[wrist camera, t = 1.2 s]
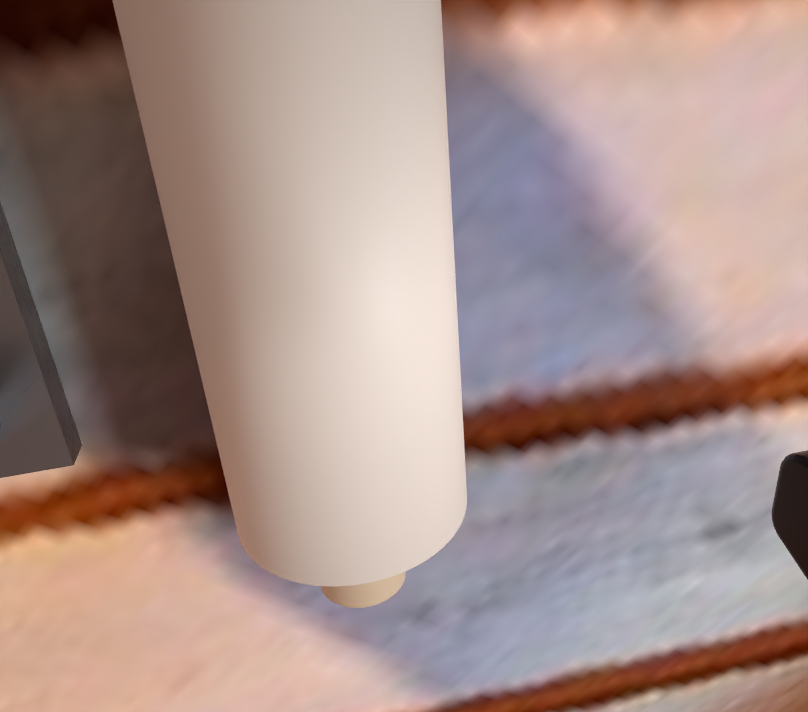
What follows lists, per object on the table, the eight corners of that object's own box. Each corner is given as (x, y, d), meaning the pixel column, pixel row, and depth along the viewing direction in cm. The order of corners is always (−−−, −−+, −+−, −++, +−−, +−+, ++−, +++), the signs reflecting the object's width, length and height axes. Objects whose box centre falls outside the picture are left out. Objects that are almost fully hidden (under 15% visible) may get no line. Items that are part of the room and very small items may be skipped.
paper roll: (108, -129, 14) (22, -228, 9) (394, -144, 15) (474, -244, 10) (253, 528, 22) (255, 689, 16) (440, 491, 22) (500, 633, 17)
